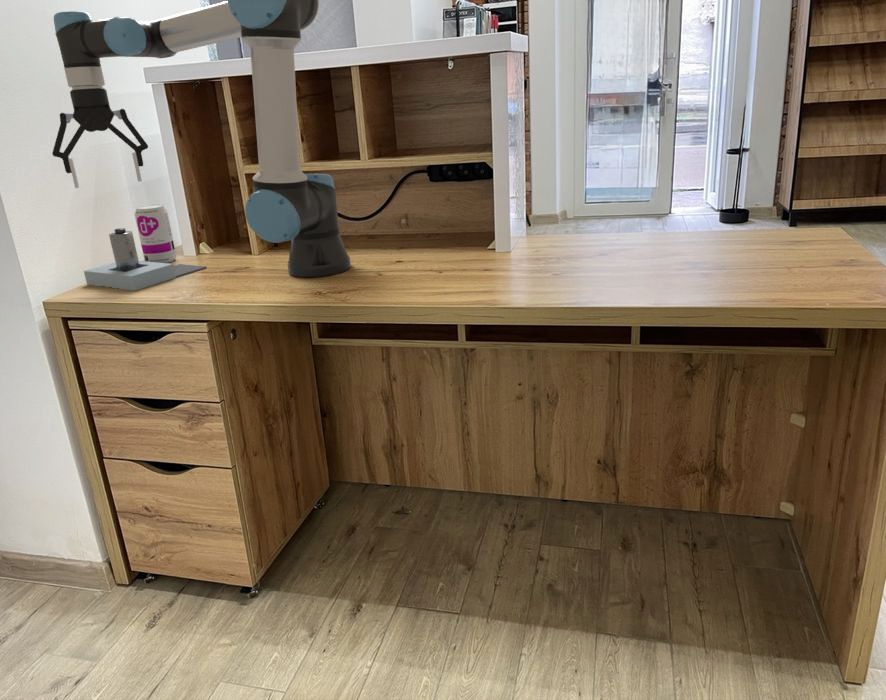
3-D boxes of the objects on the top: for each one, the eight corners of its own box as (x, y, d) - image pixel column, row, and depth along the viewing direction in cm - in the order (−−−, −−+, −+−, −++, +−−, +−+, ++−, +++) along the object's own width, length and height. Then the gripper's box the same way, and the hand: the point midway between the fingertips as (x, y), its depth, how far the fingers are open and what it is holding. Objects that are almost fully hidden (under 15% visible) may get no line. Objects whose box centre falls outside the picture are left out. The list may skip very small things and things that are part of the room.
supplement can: (166, 265, 188) (154, 209, 183) (139, 265, 190) (126, 210, 185) (182, 257, 196) (171, 203, 191) (156, 258, 198) (145, 204, 192)
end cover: (147, 279, 174) (135, 227, 169) (129, 284, 170) (117, 231, 165) (133, 277, 177) (122, 226, 172) (115, 283, 172) (103, 230, 168)
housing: (175, 277, 174) (172, 264, 172) (134, 290, 164) (131, 276, 163) (128, 272, 182) (125, 259, 181) (87, 284, 173) (83, 270, 172)
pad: (206, 268, 182) (206, 266, 182) (175, 277, 174) (175, 276, 174) (180, 265, 186) (180, 264, 186) (149, 274, 178) (148, 273, 178)
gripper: (145, 85, 165) (163, 177, 173) (26, 91, 156) (50, 188, 163) (147, 84, 159) (166, 179, 166) (23, 91, 150) (49, 191, 157)
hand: (109, 184), depth 165 cm, fingers open, 13 cm apart
